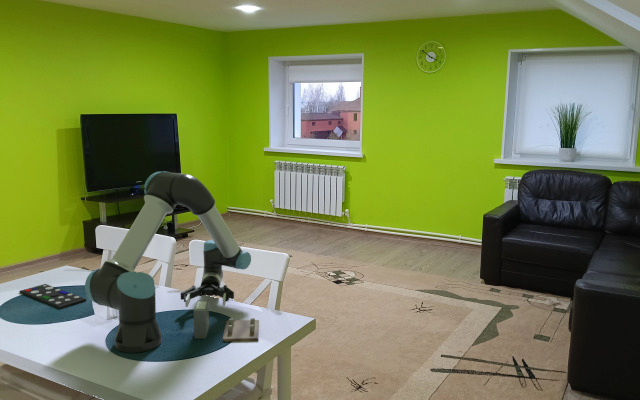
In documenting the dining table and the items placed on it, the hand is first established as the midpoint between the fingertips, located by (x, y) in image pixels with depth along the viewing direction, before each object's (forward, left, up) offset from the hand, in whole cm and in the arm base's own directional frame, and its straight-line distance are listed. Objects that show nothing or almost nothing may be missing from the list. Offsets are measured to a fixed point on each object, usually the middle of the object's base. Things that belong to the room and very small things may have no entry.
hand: (205, 303), depth 205 cm
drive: (0, -11, -7) cm, 13 cm away
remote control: (-65, +27, -7) cm, 71 cm away
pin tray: (+14, -11, -7) cm, 19 cm away
